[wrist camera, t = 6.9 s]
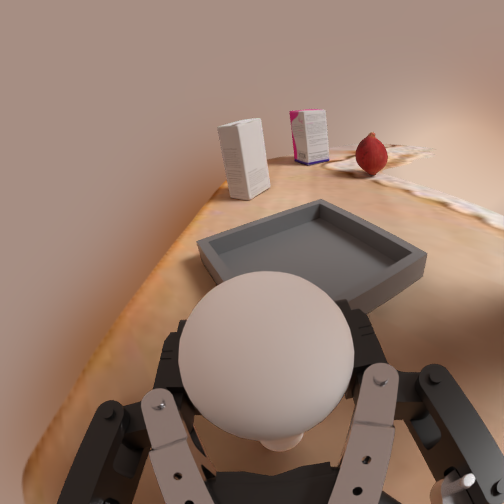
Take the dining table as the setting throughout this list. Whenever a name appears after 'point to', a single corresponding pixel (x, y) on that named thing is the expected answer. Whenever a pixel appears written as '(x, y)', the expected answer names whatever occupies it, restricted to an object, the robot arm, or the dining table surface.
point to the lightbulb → (266, 357)
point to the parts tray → (319, 253)
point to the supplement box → (309, 136)
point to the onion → (371, 154)
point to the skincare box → (244, 158)
